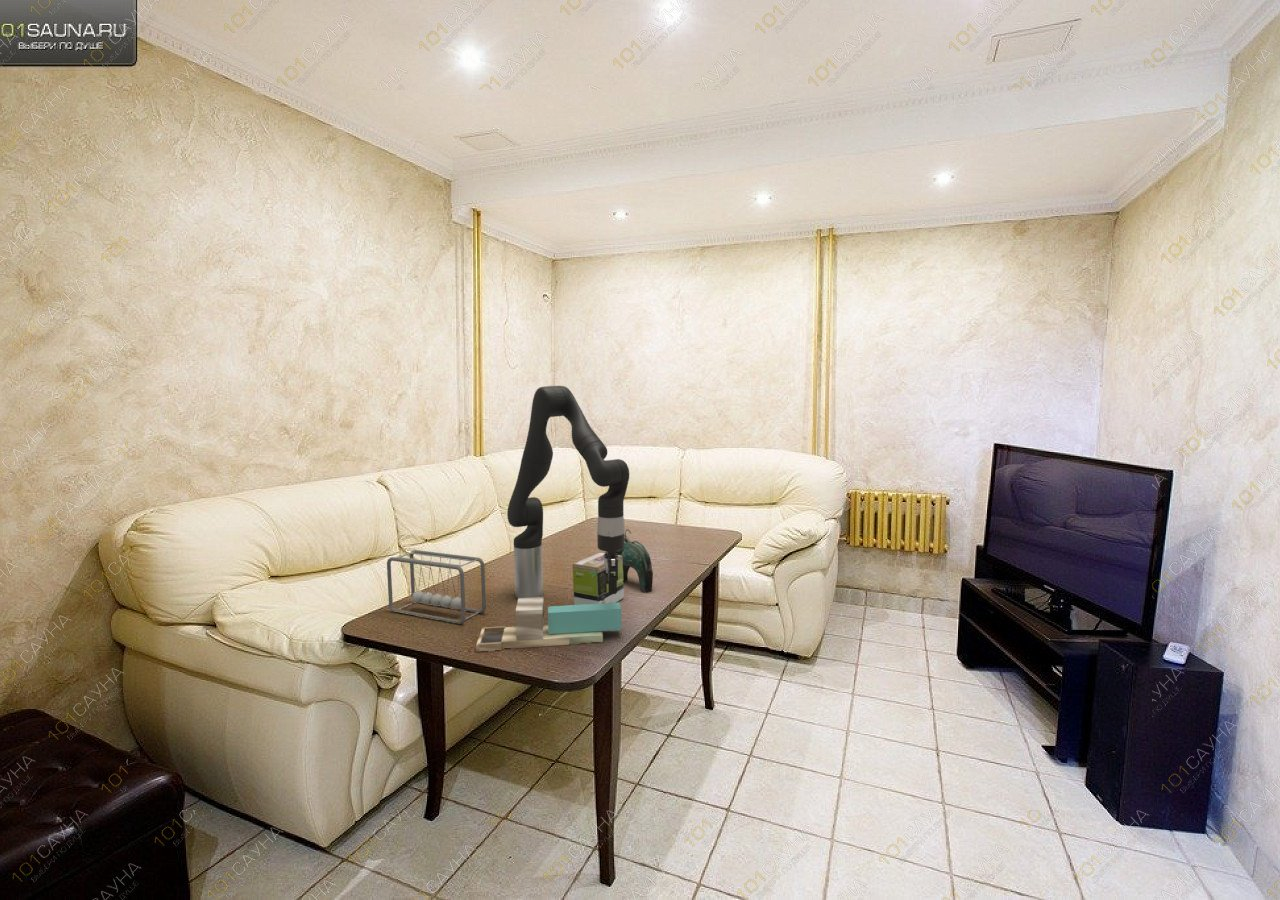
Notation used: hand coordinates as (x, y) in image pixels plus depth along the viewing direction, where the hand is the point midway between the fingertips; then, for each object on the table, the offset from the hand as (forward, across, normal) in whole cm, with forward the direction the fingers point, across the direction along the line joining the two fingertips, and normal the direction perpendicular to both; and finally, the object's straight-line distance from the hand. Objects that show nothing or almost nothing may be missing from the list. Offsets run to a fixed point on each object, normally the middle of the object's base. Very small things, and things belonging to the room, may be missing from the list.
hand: (611, 588), depth 163 cm
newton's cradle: (+14, -25, -52) cm, 60 cm away
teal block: (+11, 0, -8) cm, 13 cm away
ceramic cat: (+14, -41, +11) cm, 45 cm away
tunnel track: (+13, 0, -19) cm, 24 cm away
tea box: (+14, -26, -2) cm, 29 cm away
